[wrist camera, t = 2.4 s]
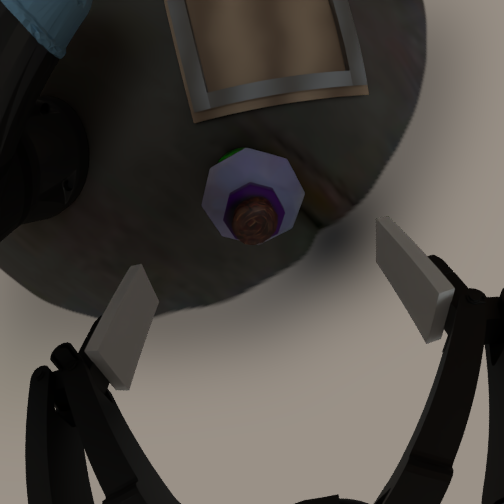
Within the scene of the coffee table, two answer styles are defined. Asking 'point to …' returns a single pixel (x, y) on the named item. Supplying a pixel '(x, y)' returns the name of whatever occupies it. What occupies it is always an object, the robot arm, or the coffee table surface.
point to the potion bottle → (252, 196)
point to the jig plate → (264, 53)
